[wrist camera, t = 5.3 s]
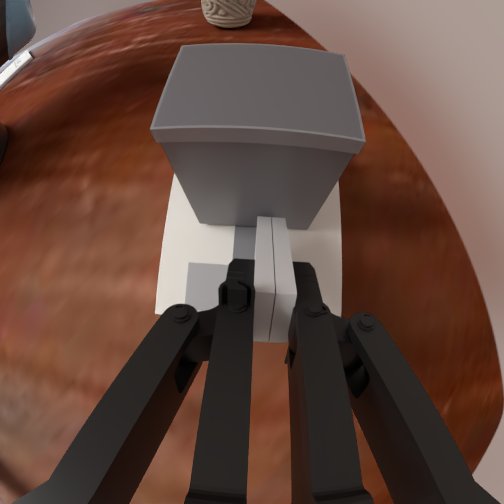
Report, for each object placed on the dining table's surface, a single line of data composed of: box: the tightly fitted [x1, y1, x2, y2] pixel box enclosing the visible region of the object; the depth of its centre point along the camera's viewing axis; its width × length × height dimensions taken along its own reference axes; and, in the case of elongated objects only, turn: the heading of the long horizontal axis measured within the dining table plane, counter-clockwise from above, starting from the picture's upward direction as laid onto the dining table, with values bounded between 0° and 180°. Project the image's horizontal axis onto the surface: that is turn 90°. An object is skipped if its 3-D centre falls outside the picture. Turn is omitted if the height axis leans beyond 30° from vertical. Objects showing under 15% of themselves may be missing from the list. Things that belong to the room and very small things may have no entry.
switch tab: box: [150, 43, 366, 230], centre depth 14 cm, size 5×7×10 cm
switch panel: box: [155, 173, 342, 317], centre depth 21 cm, size 26×12×3 cm, turn 177°
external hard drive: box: [0, 50, 33, 90], centre depth 29 cm, size 2×8×12 cm
